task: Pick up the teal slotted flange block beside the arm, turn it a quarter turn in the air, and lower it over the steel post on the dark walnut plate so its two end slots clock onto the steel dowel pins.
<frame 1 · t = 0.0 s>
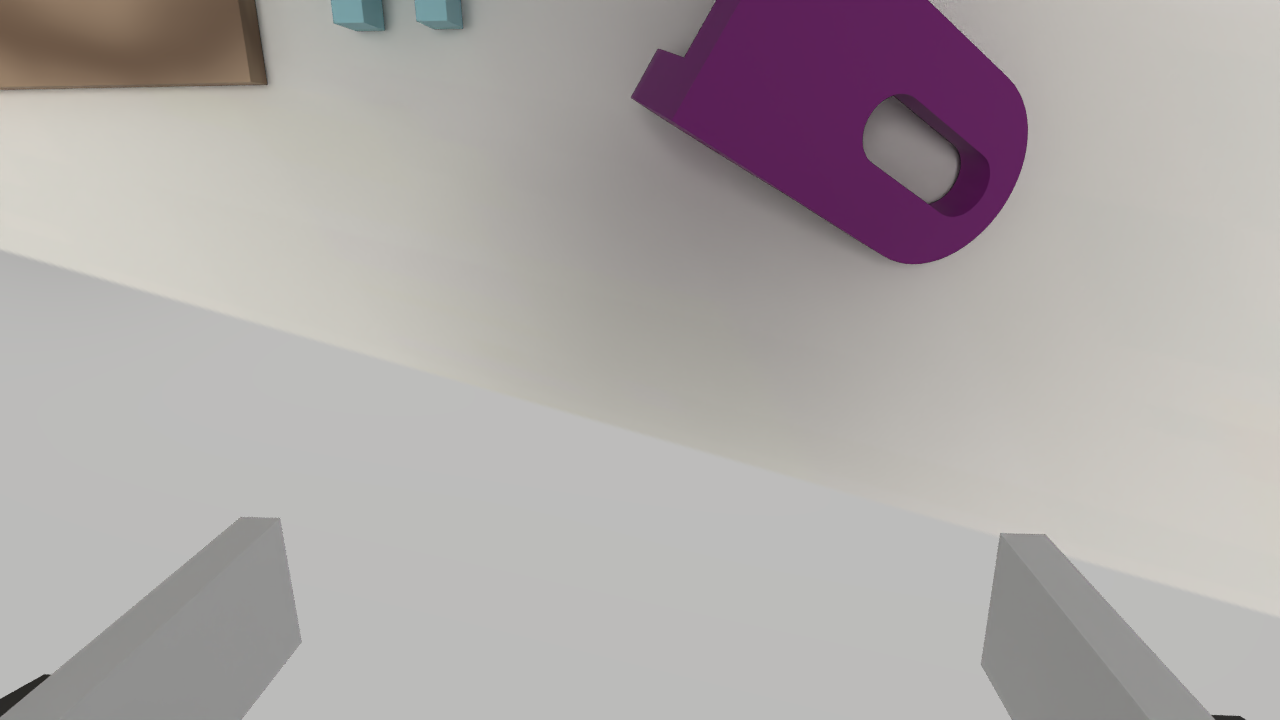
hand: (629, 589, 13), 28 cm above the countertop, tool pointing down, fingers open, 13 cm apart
mounting bracket: (836, 115, 37), on the countertop
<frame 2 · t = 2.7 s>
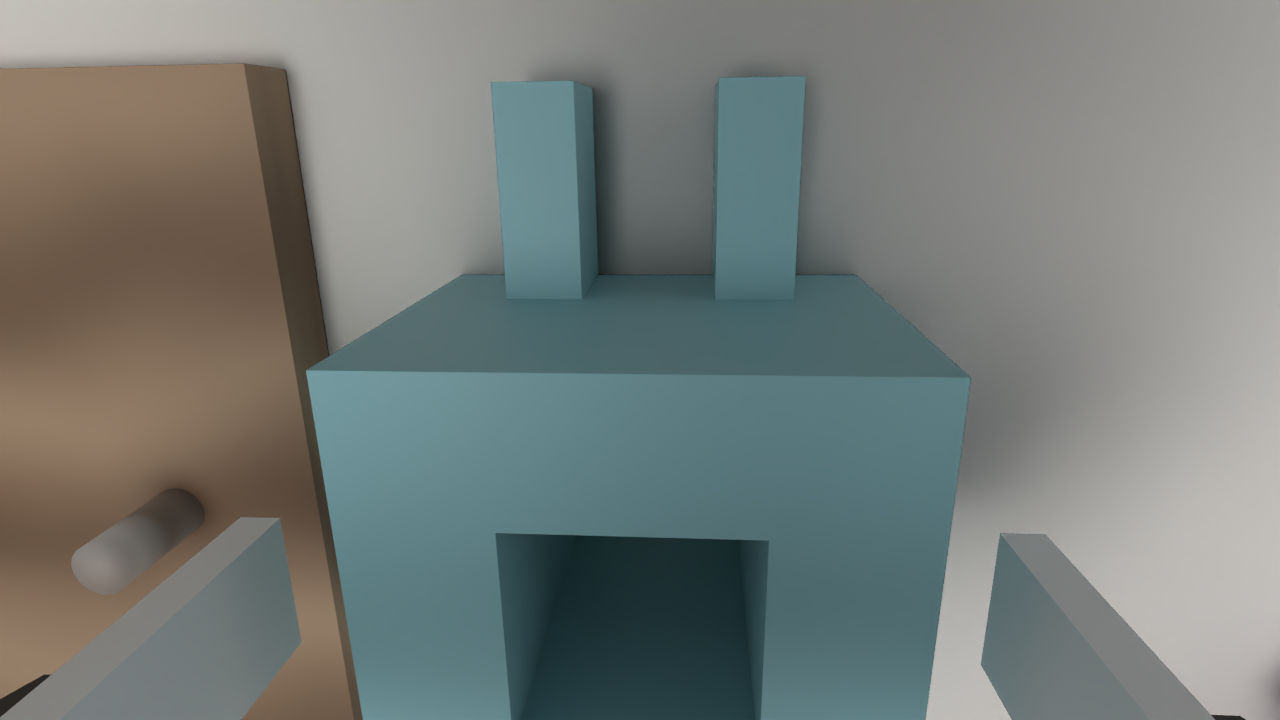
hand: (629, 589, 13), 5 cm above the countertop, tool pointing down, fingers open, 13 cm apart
flange block: (656, 455, 18), on the countertop
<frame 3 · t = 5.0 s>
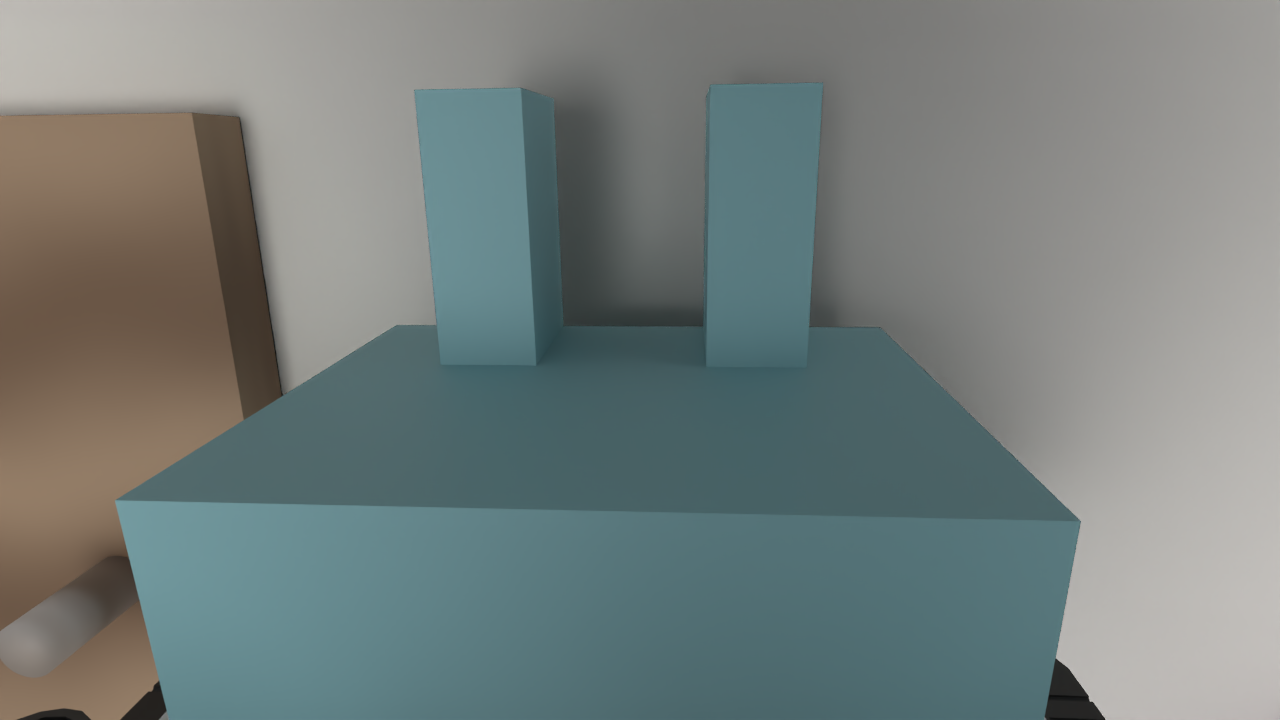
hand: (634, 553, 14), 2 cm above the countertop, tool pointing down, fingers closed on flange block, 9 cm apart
flange block: (636, 540, 15), point 2 cm above the countertop, touching gripper
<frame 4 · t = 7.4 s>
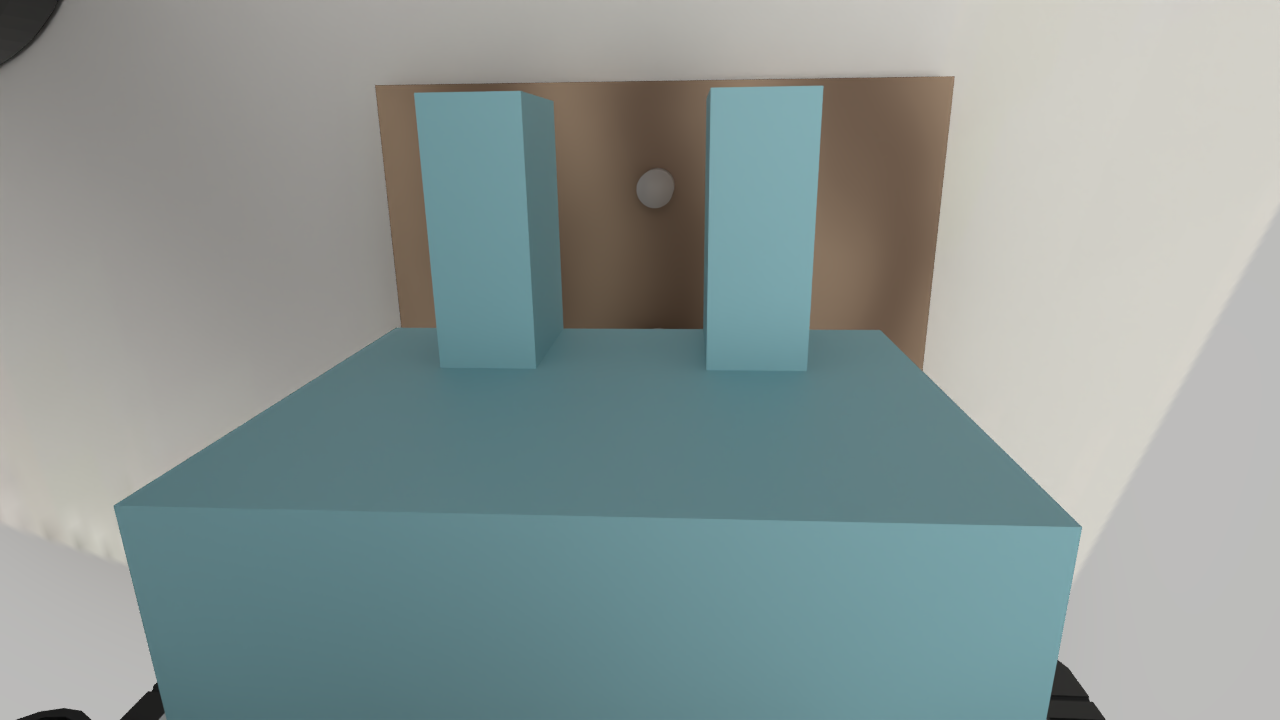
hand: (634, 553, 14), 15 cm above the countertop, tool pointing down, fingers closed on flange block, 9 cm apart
flange block: (636, 543, 15), point 15 cm above the countertop, touching gripper
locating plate: (659, 347, 29), on the countertop
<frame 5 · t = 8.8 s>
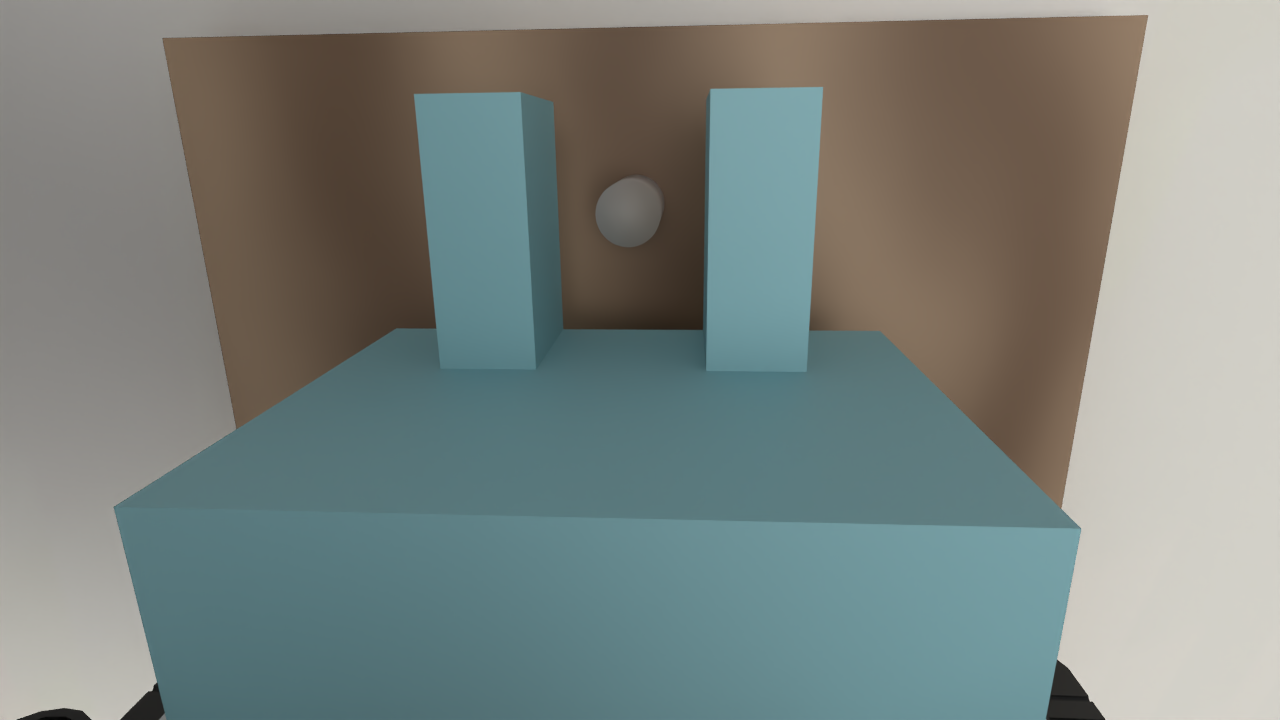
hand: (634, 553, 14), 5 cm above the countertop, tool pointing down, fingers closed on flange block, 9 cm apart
flange block: (635, 543, 15), point 4 cm above the countertop, touching gripper
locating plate: (643, 450, 19), on the countertop
when the fingers open (3 cm above the countertop, at t = 10.0 s): flange block drops 1 cm, resting on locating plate.
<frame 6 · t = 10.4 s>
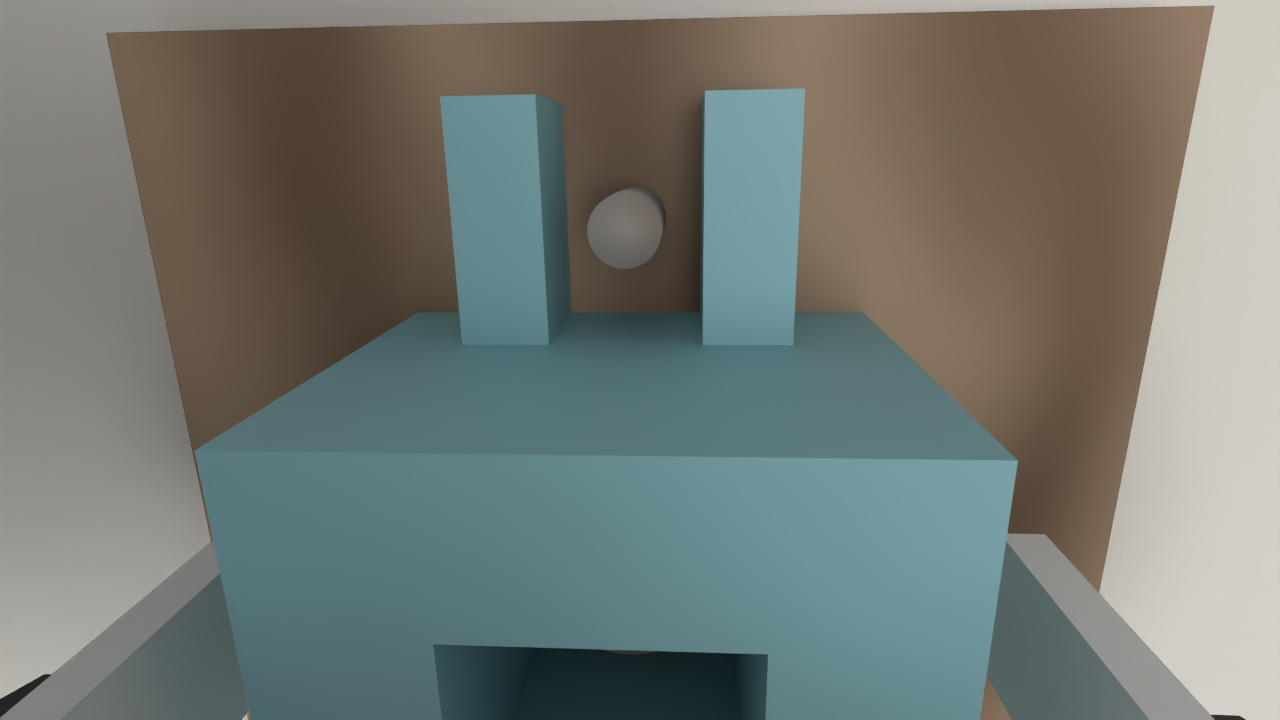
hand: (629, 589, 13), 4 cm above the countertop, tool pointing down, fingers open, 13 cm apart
flange block: (639, 512, 16), point 1 cm above the countertop, touching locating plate
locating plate: (643, 485, 17), on the countertop
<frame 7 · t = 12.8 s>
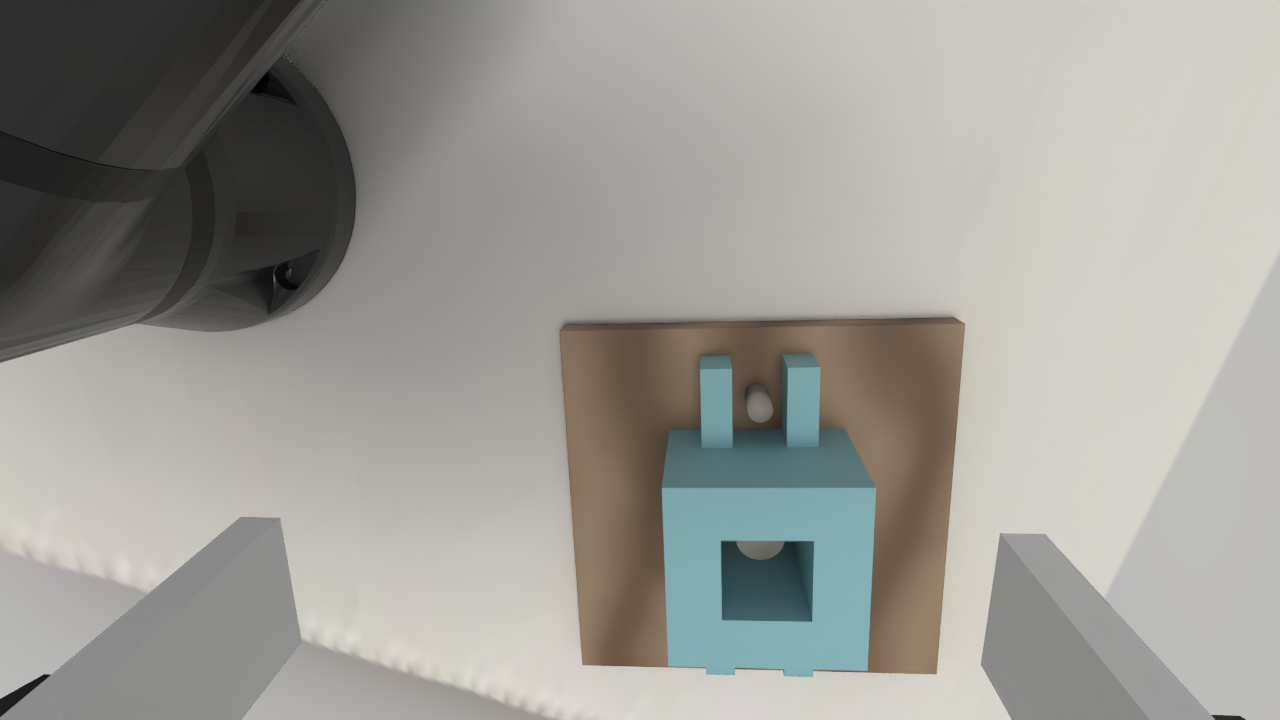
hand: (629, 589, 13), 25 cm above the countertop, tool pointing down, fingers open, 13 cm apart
flange block: (756, 508, 38), point 1 cm above the countertop, touching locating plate
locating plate: (754, 497, 40), on the countertop
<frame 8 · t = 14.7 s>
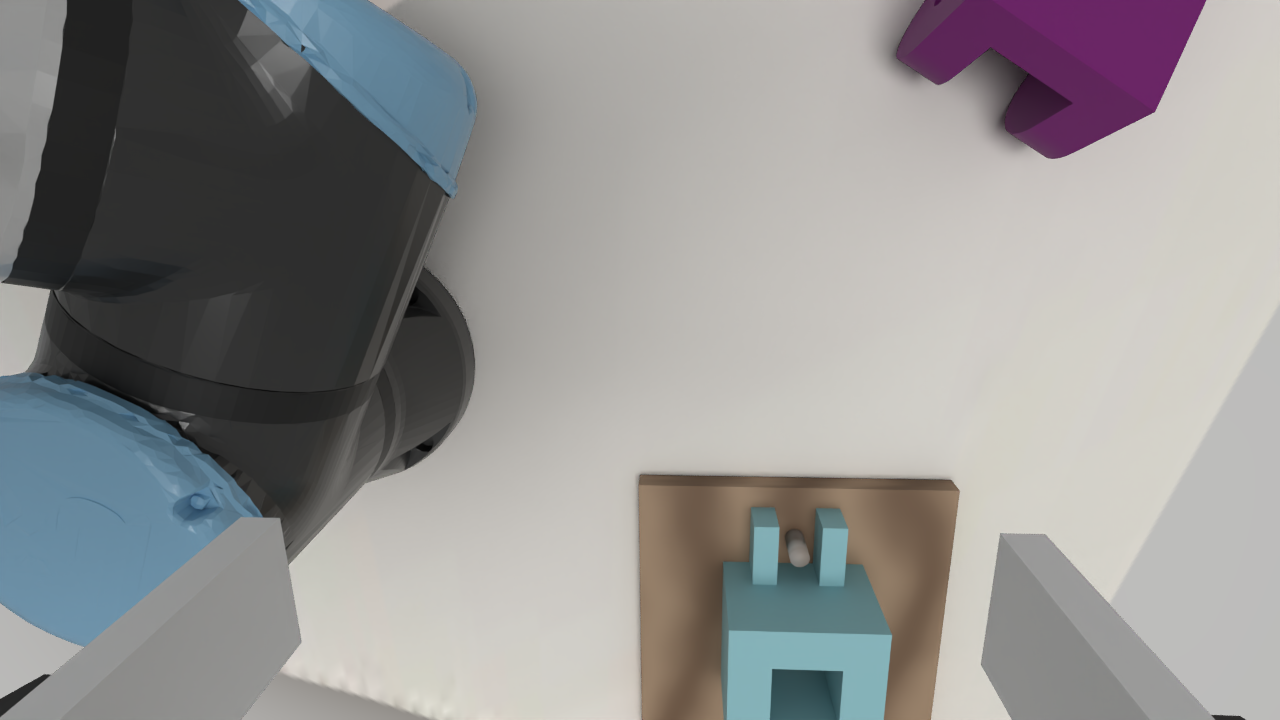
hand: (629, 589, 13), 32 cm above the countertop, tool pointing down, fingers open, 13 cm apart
flange block: (789, 621, 48), point 1 cm above the countertop, touching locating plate
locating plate: (786, 609, 50), on the countertop
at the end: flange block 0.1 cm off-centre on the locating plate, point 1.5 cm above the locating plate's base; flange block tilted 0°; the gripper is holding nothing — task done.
